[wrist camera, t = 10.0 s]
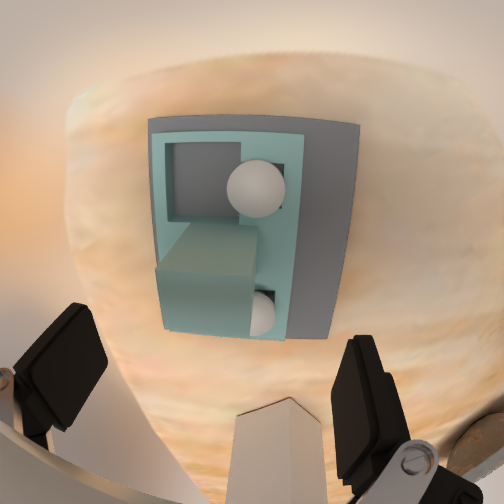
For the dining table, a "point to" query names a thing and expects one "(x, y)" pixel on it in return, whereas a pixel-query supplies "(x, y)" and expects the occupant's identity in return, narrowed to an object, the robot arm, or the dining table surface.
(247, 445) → the milk carton
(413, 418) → the dining table surface
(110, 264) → the dining table surface
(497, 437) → the ceramic bowl
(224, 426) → the dining table surface
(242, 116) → the board
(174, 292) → the teal frame with block
